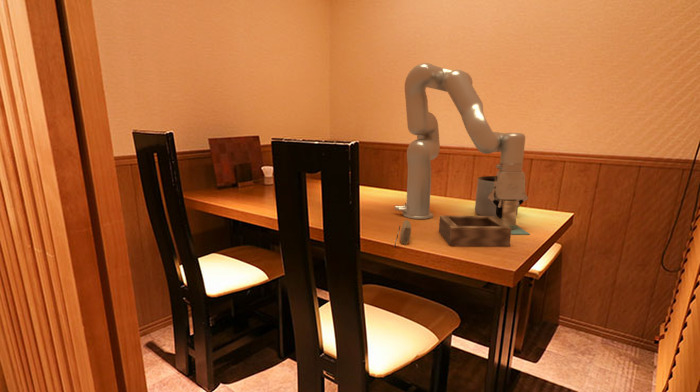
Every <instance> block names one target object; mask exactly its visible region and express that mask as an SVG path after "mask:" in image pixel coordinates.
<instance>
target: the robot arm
mask: <svg viewBox="0 0 700 392" xmlns="http://www.w3.org/2000/svg"><path fill="white" fill-rule="evenodd" d="M427 88H429V89H434V90H437V91H443V92H445V93H446V92H447V94H448V95H449V97H450V99H451V101H452V102H453V104H454V105H455V107H456V109H457V112H458V113H459V115H460V118H461V121H462V122H463V126H464V128H465V130H466V133H467V134H468V136H469V138H470V140H471V142H472V143H473V144H474V145H473V146H475V148H476V149H477V150H478V151H479V152H480V153H481V154H486V155H489V154H492V153H496V152H499V153H500V158H499V159H500V160H499V163H498V164H496V165H495V168H496V169H498V171H497V172H496V174H495V176H496V178H495V182H494V188H493V191H492V192H491V194H490V195H489V196H488V199H490V200H491V201H492V202H493V203H494V204H495V205H496V215H497V217H499V218H502V207H501V206H502V203H503V200H516V201H518V204H517V212H518V210H519V209H518V208H520V206H521V205H522V204H523V203H524V202H527V200H528V199H529V197H528V195H527V194H526V193H527V192H526V175H525V172H524V171H523V167H524V166H523V165H524V157H525V156H524V154H525V144H526V135H525V134H524V133H522V132H505V133H504V132H499V131H498V132H497V131H493V130H492V128H491V126H490V124H489V123H488V121H487V119H486V116H485V113H484V104H483V101H482V100H481V98H480V95H478V93H477V92H476V90H475V88H474V86H473V78H472V76H471V75H470V74H469V73H468V72H466V71H464V70H461V69H454V70H452V69H449V68H444V67H440V66H437V65H434V64H432V63H428V62H422V63H419V64H417V65H416V66H414V67H413V68H411V70H410V71H409V72H408V74H407V75H406V78H405V82H404V98H405V111H406V121H407V122H406V123H407V125H406V126H407V129H408V132H409V133H410V134H412V135H413V136H416V139H415V140H413V141H411V142H410V143H409V145H408V146H407V148H406V159H407V160H406V161H407V162H406V163H407V180H406V181H407V184H406V202H404V204H402V205H394V210H395V211H399V212H402V213H401V214H402V216H403V217H405V218H408V219H413V220H427V219H431V218H433V217H434V213H433V212H432V211H430V208H431V207H430V205H431V191H432V190H431V188H432V164H431V163H432V162H431V161H433V160H435V159H436V158H437V157H438V156H439V153H440V149H441V148H440V147H441V145H440V144H441V143H440V133H439V123H438V119H437V117H436V116H435V114H433V113H432V112H431V111H429V103H428V102H429V101H428V96H427V92H426V91H427V90H426V89H427ZM494 197H496V198H497V200H495V199H494ZM517 215H518V213H517V214H516V216H517Z"/></svg>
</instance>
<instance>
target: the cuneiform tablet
mask: <svg viewBox="0 0 700 392" xmlns="http://www.w3.org/2000/svg"><path fill="white" fill-rule="evenodd" d="M399 232H400V243H401V245H408V244H409V243H410V242H409V241H410V240H411V235H412V224H411V222H410V220H407V219H405V220H404V221H403V223H402V227H401V225H399V227H398V230H397V235H396V238H395V242H394V246H393V247H394V248H396V244H397V241H398V238H399Z"/></svg>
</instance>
